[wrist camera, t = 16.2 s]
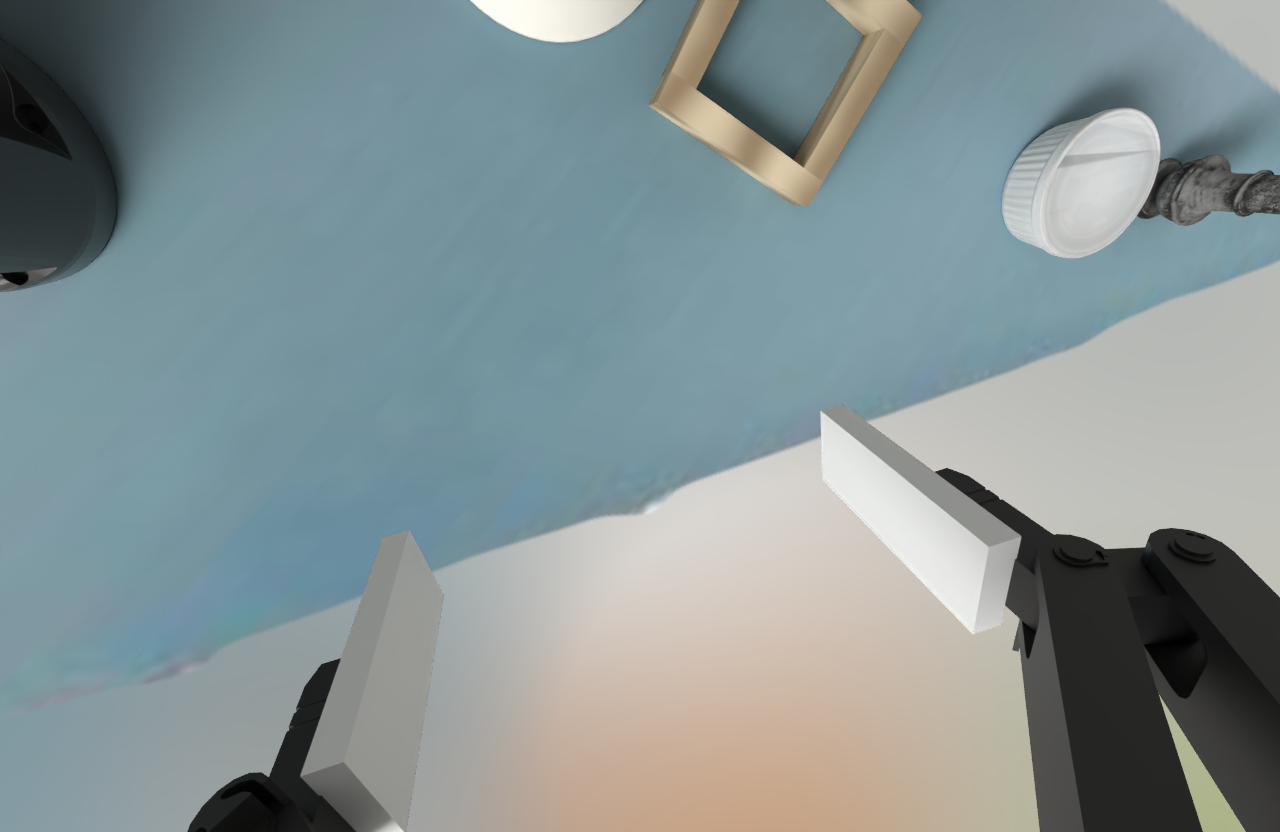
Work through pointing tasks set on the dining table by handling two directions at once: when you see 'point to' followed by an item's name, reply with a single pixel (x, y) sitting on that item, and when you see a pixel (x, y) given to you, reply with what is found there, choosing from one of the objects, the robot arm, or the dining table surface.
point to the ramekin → (1082, 182)
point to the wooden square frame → (886, 25)
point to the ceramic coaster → (558, 17)
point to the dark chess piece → (1209, 191)
